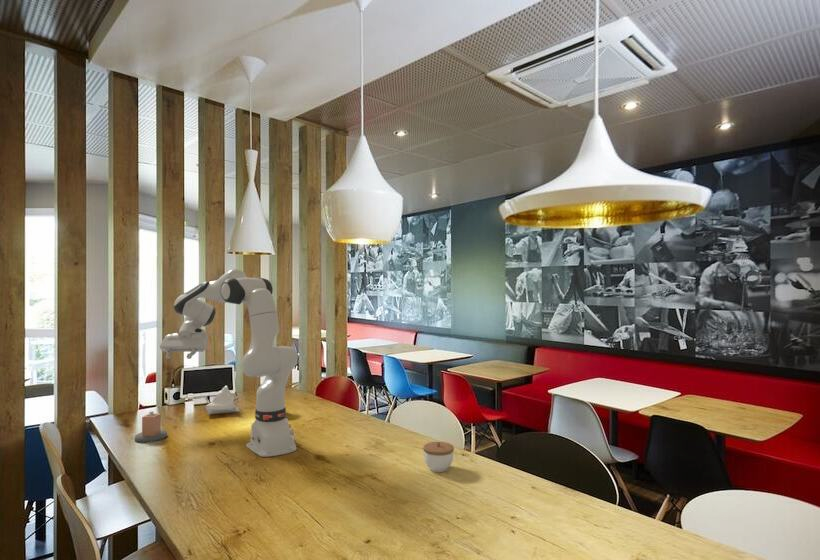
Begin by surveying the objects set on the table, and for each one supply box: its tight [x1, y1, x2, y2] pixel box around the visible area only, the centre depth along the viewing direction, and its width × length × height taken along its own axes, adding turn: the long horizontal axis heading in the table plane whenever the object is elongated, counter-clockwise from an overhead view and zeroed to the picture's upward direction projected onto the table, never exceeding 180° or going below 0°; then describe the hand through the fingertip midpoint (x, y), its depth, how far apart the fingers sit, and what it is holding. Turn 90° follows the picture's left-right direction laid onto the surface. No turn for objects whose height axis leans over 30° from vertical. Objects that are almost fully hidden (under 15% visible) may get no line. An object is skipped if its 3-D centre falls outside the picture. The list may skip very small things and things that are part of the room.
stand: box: [134, 410, 168, 444], centre depth 192 cm, size 12×12×11 cm
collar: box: [141, 413, 162, 436], centre depth 192 cm, size 5×5×8 cm
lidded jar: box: [423, 441, 455, 473], centre depth 160 cm, size 11×11×9 cm
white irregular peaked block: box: [205, 385, 240, 415], centre depth 231 cm, size 12×15×14 cm
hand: (178, 358), depth 207 cm, fingers open, 8 cm apart
